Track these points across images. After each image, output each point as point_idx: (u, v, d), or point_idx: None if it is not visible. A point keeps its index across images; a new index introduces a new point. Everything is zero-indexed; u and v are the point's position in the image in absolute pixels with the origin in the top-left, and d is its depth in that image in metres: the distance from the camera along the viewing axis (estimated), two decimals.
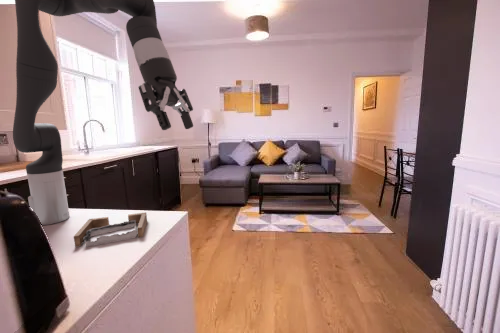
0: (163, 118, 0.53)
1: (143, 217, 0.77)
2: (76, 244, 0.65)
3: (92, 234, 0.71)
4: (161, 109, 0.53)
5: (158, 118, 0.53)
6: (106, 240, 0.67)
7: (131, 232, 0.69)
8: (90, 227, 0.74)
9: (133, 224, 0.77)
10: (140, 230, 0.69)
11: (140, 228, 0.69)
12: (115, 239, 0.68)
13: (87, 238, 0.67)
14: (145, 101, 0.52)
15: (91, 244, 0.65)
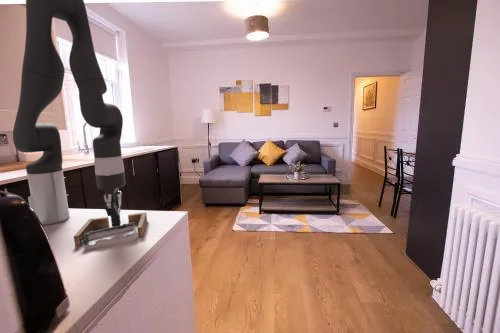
0: (117, 220, 0.74)
1: (143, 217, 0.77)
2: (76, 244, 0.65)
3: (90, 237, 0.69)
4: (118, 214, 0.73)
5: (113, 219, 0.73)
6: (105, 244, 0.65)
7: (131, 235, 0.67)
8: (90, 227, 0.74)
9: (132, 226, 0.75)
10: (140, 230, 0.69)
11: (140, 228, 0.69)
12: (115, 242, 0.66)
13: (85, 242, 0.65)
14: (108, 212, 0.70)
15: (89, 248, 0.63)
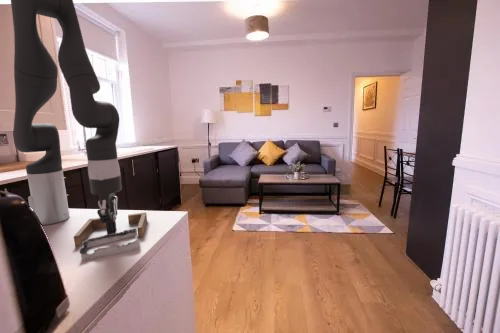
0: (113, 227, 0.68)
1: (143, 217, 0.77)
2: (76, 244, 0.65)
3: (89, 245, 0.65)
4: (113, 221, 0.68)
5: (108, 227, 0.68)
6: (104, 253, 0.60)
7: (132, 243, 0.62)
8: (90, 227, 0.74)
9: (134, 233, 0.71)
10: (140, 230, 0.69)
11: (140, 228, 0.69)
12: (115, 251, 0.61)
13: (83, 250, 0.60)
14: (103, 219, 0.65)
15: (88, 257, 0.59)
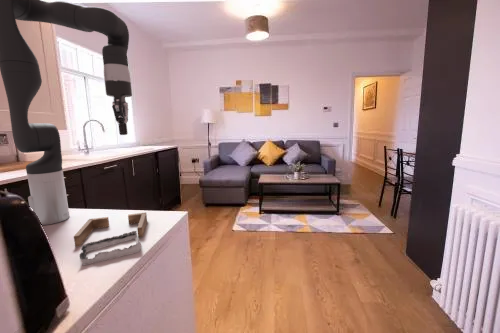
0: (124, 128, 0.80)
1: (143, 217, 0.77)
2: (76, 244, 0.65)
3: (87, 249, 0.62)
4: (125, 122, 0.80)
5: (120, 127, 0.79)
6: (105, 257, 0.58)
7: (134, 246, 0.61)
8: (90, 227, 0.74)
9: (134, 236, 0.69)
10: (140, 230, 0.69)
11: (140, 228, 0.69)
12: (116, 255, 0.59)
13: (83, 255, 0.58)
14: (116, 116, 0.76)
15: (88, 262, 0.57)
